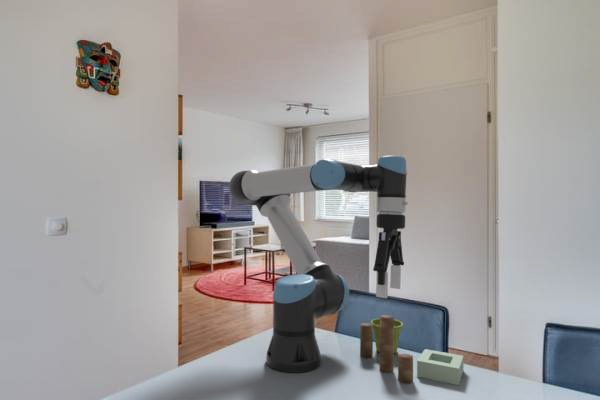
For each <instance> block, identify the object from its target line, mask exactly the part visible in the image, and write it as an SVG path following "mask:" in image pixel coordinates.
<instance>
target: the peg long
mask: <svg viewBox="0 0 600 400" xmlns="http://www.w3.org/2000/svg"><path fill="white" fill-rule="evenodd" d="M379 318H380V352H379V372H382V373H386V374H390V373H393V372H394V354H395V353H394V320H395V318H394V316H392V315H387V314H383V315H379Z"/></svg>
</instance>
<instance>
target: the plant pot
mask: <svg viewBox="0 0 600 400" xmlns="http://www.w3.org/2000/svg"><path fill="white" fill-rule="evenodd" d="M370 324H372V325H373V336H374V341H375V349H376V352H379V353H380V317H379V318H374V319H372V320H371V321H370ZM403 325H404V324H403V322H402V321H400V320H398V319H394V353H393V354H397V352H398V347H399V345H398V344H399V340H400V334H401V330H402V327H403Z"/></svg>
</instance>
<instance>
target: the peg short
mask: <svg viewBox="0 0 600 400" xmlns="http://www.w3.org/2000/svg"><path fill="white" fill-rule="evenodd" d="M397 356H398V358H397V360H398V361H397V365H398V366H397V381H398V382H400V383H402V384H406V385H407V384H408V385H410V384H413V382H414V356H413V355H411V354H410V353H399V354H398V355H397Z"/></svg>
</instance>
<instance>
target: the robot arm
mask: <svg viewBox="0 0 600 400" xmlns="http://www.w3.org/2000/svg"><path fill="white" fill-rule="evenodd" d="M407 172H408V171H407V160H406V158H405V157H403V156H399V155H383V156H380V157H379V158H378V159H377V164H372V165H371V164H370V165H361V164H355V163H348V162H346V161H345V162H344V161H343V162H342V161H339V160H336V159H331V158H330V159H329V158H327V159H326V158H325V159H324V158H323V159H320V160H318V161H317V162H315V163H311V164H304V165H298V166H291V167H286V168H285V167H284V168H277V169H271V170H266V171H257V170H254V169H250V170H249V169H248V170H241V171H238V172H236V173H235V174H234V175H233V176H232V177H231V178H230V181H229V186H228V188H229V193H230V196H231V198H232V199H233V200H235V202H237V203H239V204H241V205H245V206H255V207H256V208H257V210H258V211H259V213H260V215H261V216H262V217H266V218H267V220H268V221H269V223H270V225H271V227H272V229H273V230H274V232H275V235H276V236H277V238H278V240H279V241H280V244H281V245H282V247H283V249H284V252H285V253H286V255H287V257H288V259H289V261H290V263H291V265H292V266H293V268H294V271H295V272H296V274H294V275H293V274H290V275H286V276H281V277H280V278H278V279H277V280H276V281H275V282H274V286H273V294H272V299H273V300H272V301H273V307H272V308H273V313H272V314H273V315H272V316H273V317H272V318H273V319H272V322H273V324H272V327H273V328H272V336H271V340H270V341H269V345H268V348H267V351H266V358H265V359H266V361H265V362H266V364H267V366H268V367H269V368H270V369H273V370H275V371H279V372H285V373H304V372H305V373H306V372H309V371H313V370H315V369H318V367H319V366H321V363H322V362H321V361H322V360H321V359H322V358H321V357H322V355H321V354H322V353H321V351H320V349H319V345H318V341H317V338H316V332H315V331H316V327H315V326H316V324H315V323H316V319H320V318H322V317H326V316H328V315H329V316H330V315H334V314H336V313H337V312H340V311H341V310H343V309H344V308H345V307H346V305H347V303H348V302H349V296H350V288H349V285H348V282H347V281H346V279H345V278H344V276H342V275H340V274H338V273H334V272H333V271H332V268H331V266H330V264H328V263H325V262H322V261H321V259H320V257H319V255H318V253H317V251H316V250H315V248H314V247H313V245H312V243H311V241H310V239H309V238H308V236H307V234H306V233H305V231H304V229H303V227H302V225H301V224H300V222H299V219H297V217H296V215H295V213H294V211H293V209H292V208H291V206H290V204H291V194H297V193H310V192H320V191H321V192H322V191H332V190H334V191H335V190H337V191H338V190H339V191H343V192H346V193H347V192H348V193H369V192H372V193H373V192H374V193H376V192H377V194H376V195H377V196H376V212H378V214H377V215H376V227H377V228H378V229H383V230H382V231H379V232H378V241H377V248H376V255H375V260H374V266H373V267H372V270H373V272H376V289H375V290H376V291H375V293H376V295H375V297H376V298H382V299H388V294H389V291H388V290H389V289H388V288H390V289H395V290H401V278H402V275H401V271H402V266H404V265H405V262H404V259H403V248H402V247H403V246H402V229H405V227H406V216H405V214H404V213H405V212H406V206H407V205H408V201H407V200H406V197H407V195H406V193H407V192H406V190H407V175H408V173H407ZM390 261H391V265H390V277H389V272H388V267H389V263H390ZM389 278H390V280H389ZM389 281H390V282H389ZM389 285H390V286H389Z"/></svg>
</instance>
